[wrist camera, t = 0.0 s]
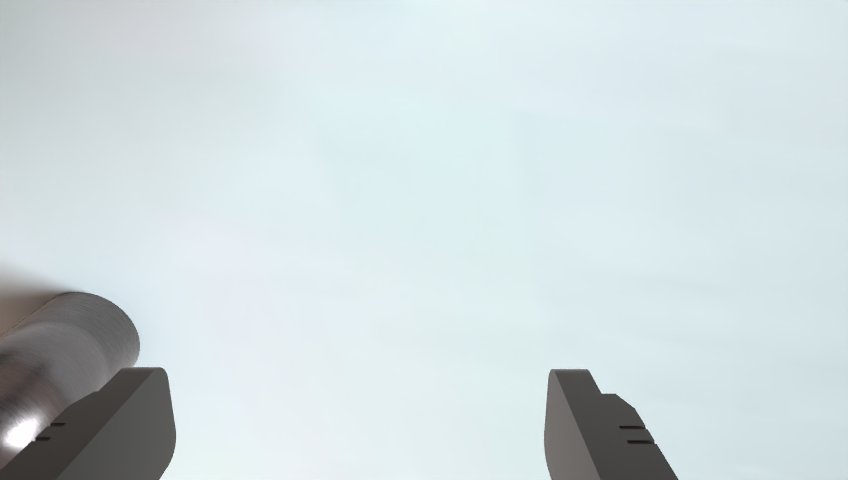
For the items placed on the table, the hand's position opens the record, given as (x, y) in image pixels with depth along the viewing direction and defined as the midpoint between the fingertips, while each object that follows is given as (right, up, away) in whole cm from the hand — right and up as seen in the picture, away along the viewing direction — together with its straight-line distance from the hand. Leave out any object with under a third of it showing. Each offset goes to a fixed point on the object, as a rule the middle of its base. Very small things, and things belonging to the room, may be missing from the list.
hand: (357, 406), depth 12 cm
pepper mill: (-17, -2, +19) cm, 26 cm away
